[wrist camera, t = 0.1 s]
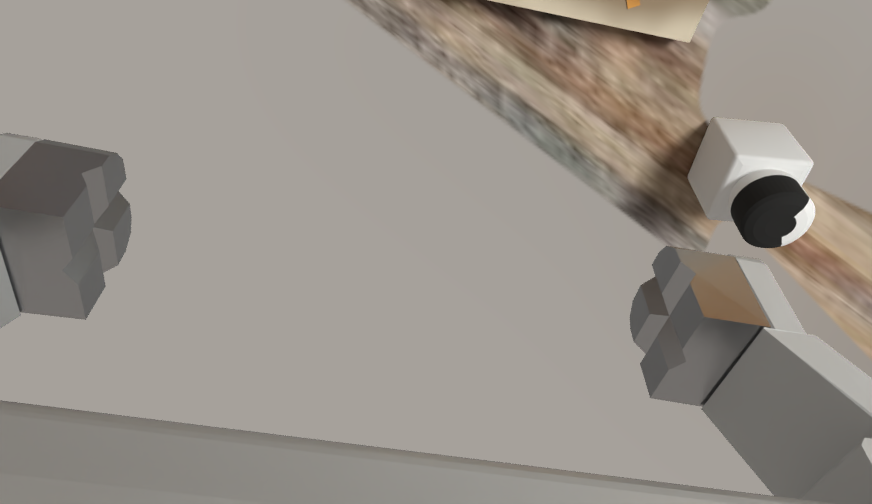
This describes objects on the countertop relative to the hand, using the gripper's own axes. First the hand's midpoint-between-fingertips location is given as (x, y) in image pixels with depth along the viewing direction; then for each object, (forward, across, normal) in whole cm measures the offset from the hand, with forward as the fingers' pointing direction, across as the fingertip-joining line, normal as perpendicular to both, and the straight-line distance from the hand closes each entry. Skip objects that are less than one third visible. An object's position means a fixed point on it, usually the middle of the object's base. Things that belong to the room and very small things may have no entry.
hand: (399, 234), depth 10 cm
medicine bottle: (+48, -34, +22) cm, 63 cm away
